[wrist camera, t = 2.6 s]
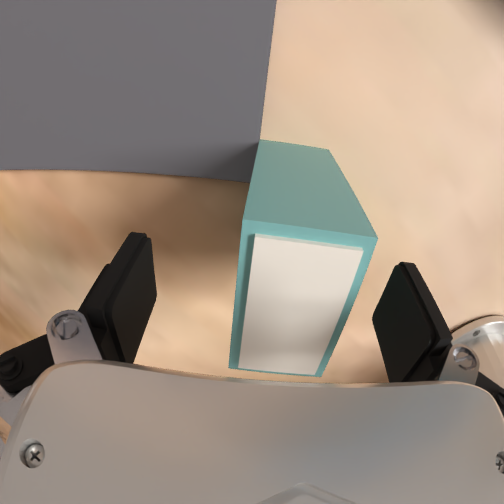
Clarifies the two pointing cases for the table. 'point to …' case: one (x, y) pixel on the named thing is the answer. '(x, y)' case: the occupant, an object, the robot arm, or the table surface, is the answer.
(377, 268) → the table surface
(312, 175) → the teal rectangular block
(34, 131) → the mat
